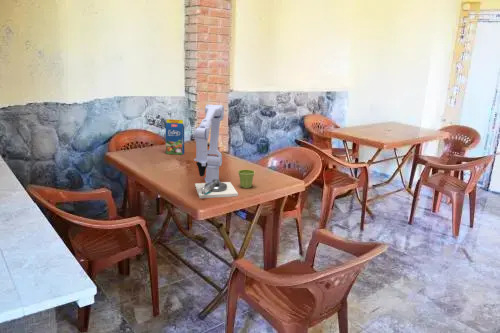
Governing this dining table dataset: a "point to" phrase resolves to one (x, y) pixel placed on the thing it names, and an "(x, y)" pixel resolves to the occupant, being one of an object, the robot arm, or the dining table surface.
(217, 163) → the robot arm
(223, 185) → the crank handle
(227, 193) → the base board
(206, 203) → the dining table surface
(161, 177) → the dining table surface
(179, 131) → the blue food package
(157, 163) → the dining table surface
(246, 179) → the plant pot
